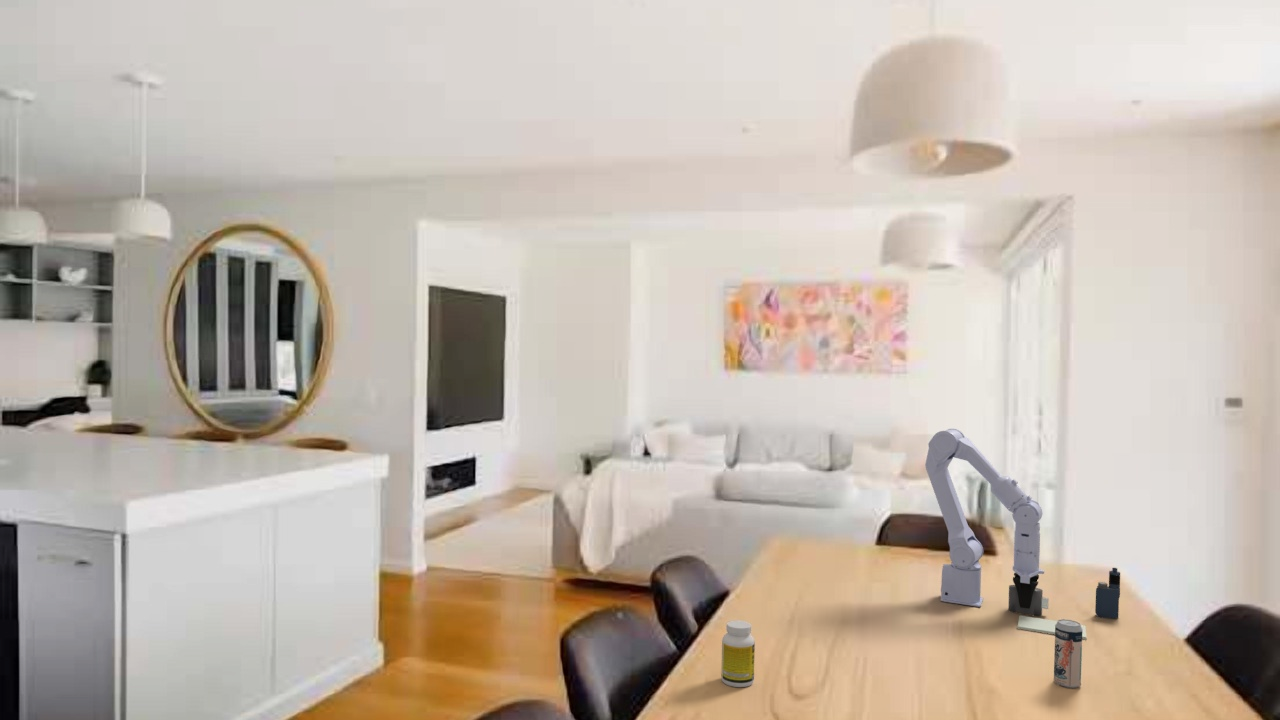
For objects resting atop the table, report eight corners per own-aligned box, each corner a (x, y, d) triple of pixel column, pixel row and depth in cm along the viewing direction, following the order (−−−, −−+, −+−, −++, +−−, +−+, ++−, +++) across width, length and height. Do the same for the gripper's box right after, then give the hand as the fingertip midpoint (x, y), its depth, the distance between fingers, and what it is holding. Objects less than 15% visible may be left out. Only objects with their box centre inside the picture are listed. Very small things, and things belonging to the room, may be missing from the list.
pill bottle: (758, 687, 155) (760, 628, 155) (727, 689, 154) (728, 630, 153) (747, 674, 161) (748, 618, 161) (717, 676, 160) (718, 619, 159)
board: (1017, 628, 191) (1017, 626, 191) (1019, 617, 199) (1019, 615, 199) (1086, 639, 185) (1086, 637, 185) (1085, 628, 193) (1085, 625, 193)
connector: (1007, 611, 204) (1008, 587, 204) (1008, 608, 207) (1009, 584, 207) (1047, 617, 200) (1048, 593, 200) (1048, 613, 203) (1048, 589, 203)
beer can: (1048, 679, 162) (1050, 618, 161) (1071, 679, 162) (1073, 618, 162) (1062, 689, 157) (1064, 626, 157) (1086, 689, 157) (1088, 626, 157)
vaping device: (1120, 619, 200) (1122, 570, 200) (1097, 617, 201) (1098, 568, 201) (1117, 615, 202) (1118, 567, 202) (1093, 614, 203) (1095, 565, 203)
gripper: (1044, 559, 195) (1042, 616, 195) (1045, 546, 208) (1043, 600, 208) (1011, 555, 198) (1010, 611, 198) (1014, 543, 211) (1013, 595, 211)
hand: (1025, 605), depth 204 cm, fingers closed on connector, 3 cm apart
